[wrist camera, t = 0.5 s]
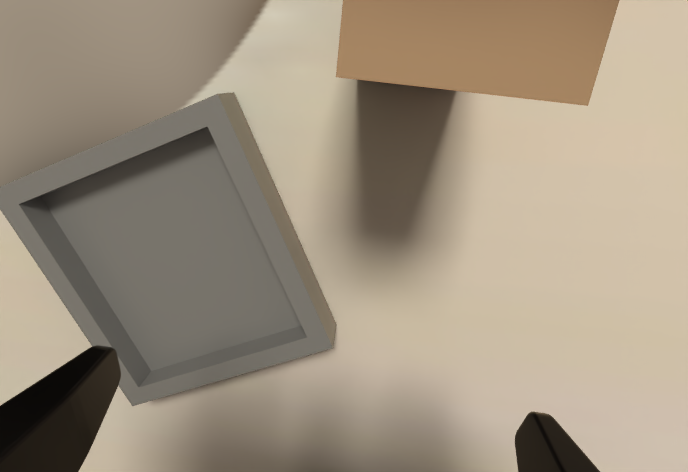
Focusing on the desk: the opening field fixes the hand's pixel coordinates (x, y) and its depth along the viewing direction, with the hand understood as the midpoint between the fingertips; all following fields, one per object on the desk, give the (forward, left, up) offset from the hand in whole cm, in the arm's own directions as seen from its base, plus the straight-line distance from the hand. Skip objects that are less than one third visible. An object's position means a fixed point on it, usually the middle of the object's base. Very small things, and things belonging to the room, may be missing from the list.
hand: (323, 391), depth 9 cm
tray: (+1, +9, -13) cm, 15 cm away
